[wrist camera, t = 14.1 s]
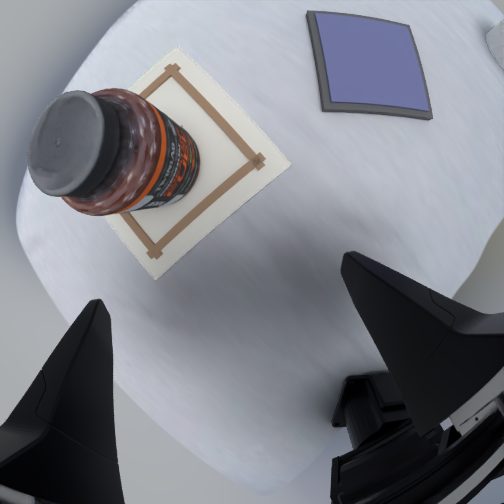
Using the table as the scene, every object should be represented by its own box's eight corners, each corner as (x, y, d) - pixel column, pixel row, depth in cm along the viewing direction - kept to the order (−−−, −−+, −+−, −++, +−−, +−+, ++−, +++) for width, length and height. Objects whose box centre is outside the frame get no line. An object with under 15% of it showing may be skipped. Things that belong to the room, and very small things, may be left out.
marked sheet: (291, 165, 18) (292, 164, 18) (156, 280, 21) (153, 282, 20) (178, 47, 17) (176, 44, 16) (66, 160, 19) (63, 160, 18)
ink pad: (428, 120, 17) (435, 118, 16) (322, 111, 17) (325, 107, 16) (406, 28, 15) (410, 23, 14) (306, 14, 15) (307, 8, 14)
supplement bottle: (204, 204, 19) (129, 223, 8) (127, 209, 19) (13, 232, 8) (202, 120, 18) (134, 47, 7) (126, 131, 18) (18, 94, 7)
